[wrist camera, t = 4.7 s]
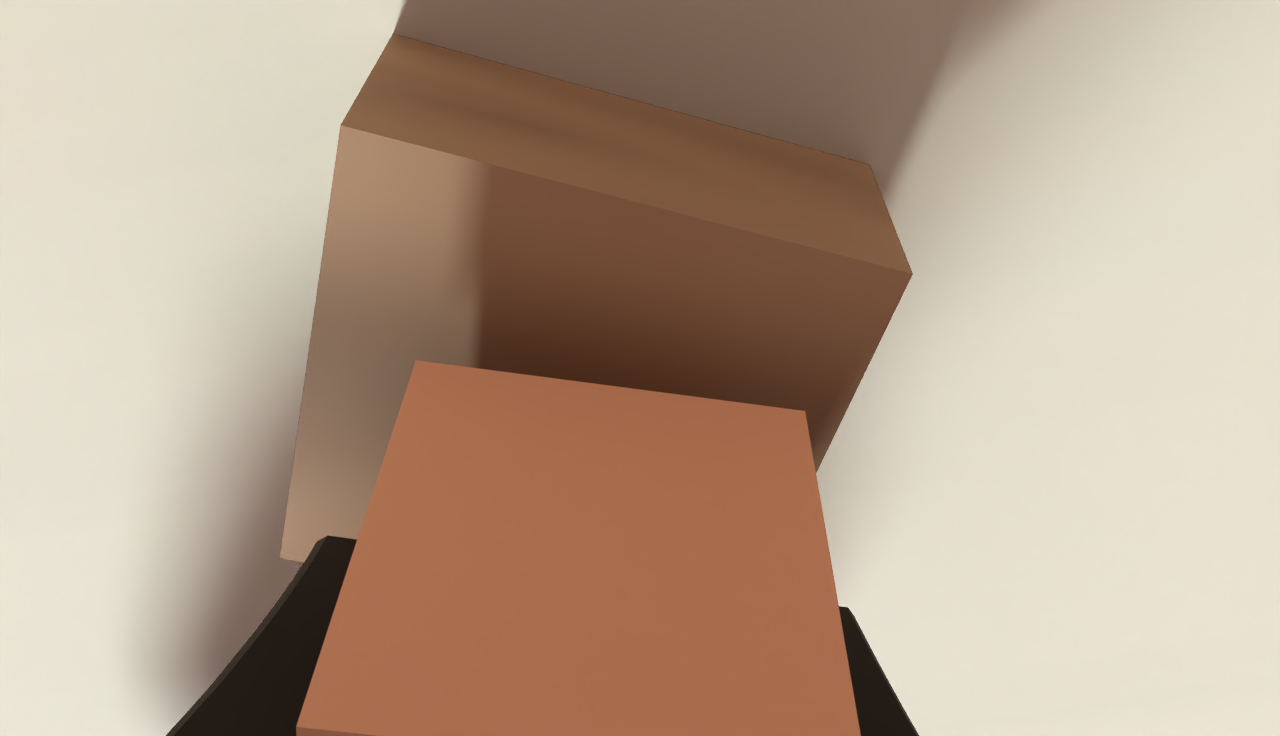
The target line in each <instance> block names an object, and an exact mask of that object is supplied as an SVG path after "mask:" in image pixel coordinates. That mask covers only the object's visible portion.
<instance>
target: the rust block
mask: <svg viewBox="0 0 1280 736" xmlns="http://www.w3.org/2000/svg"><path fill="white" fill-rule="evenodd" d="M296 736H861V734H860V728H859V722H858V717H857V711H856V705H855V699H854V693H853V687H852V682H851V676H850V670H849V664H848V658H847V652H846V647H845V641H844V635H843V629H842V623H841V617H840V611H839V606H838V600H837V594H836V588H835V582H834V576H833V571H832V565H831V559H830V553H829V547H828V541H827V536H826V530H825V524H824V518H823V512H822V506H821V501H820V495H819V489H818V483H817V477H816V471H815V466H814V460H813V454H812V448H811V442H810V436H809V430H808V425H807V419H806V413H805V411H801V410H793V409H785V408H778V407H770V406H762V405H755V404H747V403H739V402H732V401H724V400H716V399H709V398H701V397H694V396H686V395H678V394H671V393H663V392H655V391H648V390H640V389H632V388H625V387H617V386H609V385H602V384H594V383H586V382H579V381H571V380H563V379H556V378H548V377H540V376H533V375H525V374H517V373H510V372H502V371H494V370H487V369H479V368H471V367H464V366H456V365H448V364H441V363H433V362H425V361H418V360H416V361H415V364H414V367H413V370H412V373H411V376H410V379H409V383H408V386H407V389H406V392H405V395H404V398H403V401H402V404H401V407H400V410H399V413H398V416H397V419H396V422H395V425H394V429H393V432H392V435H391V438H390V441H389V444H388V447H387V450H386V453H385V456H384V459H383V462H382V465H381V468H380V471H379V474H378V478H377V481H376V484H375V487H374V490H373V493H372V496H371V499H370V502H369V505H368V508H367V511H366V514H365V517H364V520H363V523H362V527H361V530H360V533H359V536H358V539H357V542H356V545H355V548H354V551H353V554H352V557H351V560H350V563H349V566H348V569H347V572H346V576H345V579H344V582H343V585H342V588H341V591H340V594H339V597H338V600H337V603H336V606H335V609H334V612H333V615H332V618H331V621H330V625H329V628H328V631H327V634H326V637H325V640H324V643H323V646H322V649H321V652H320V655H319V658H318V661H317V664H316V667H315V670H314V674H313V677H312V680H311V683H310V686H309V689H308V692H307V695H306V698H305V701H304V704H303V707H302V710H301V713H300V716H299V719H298V723H297V726H296Z"/></svg>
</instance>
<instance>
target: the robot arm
mask: <svg viewBox="0 0 1280 736" xmlns="http://www.w3.org/2000/svg"><path fill="white" fill-rule="evenodd" d="M356 542H357V539H350V538H343V537H336V536H329V535H327V536H326V537H324V538H322V539H320V540H318V541H317V542H316V543H315V545H314V547H313V549H312V550H311V552H310V554H309V555H308V557H307V559H306V560H305V562H304V563H303V565H302V566H301V568H300V569H299V571H298V573H297V574H296V576H295V577H294V579H293V580H292V582H291V583H290V584H289V586H288V587H287V589H286V590H285V592H284V593H283V594H282V596H281V597H280V599H279V600H278V601H277V603H276V604H275V605H274V607H273V608H272V609H271V611H270V612H269V614H268V615H267V616H266V618H265V619H264V620H263V622H262V623H261V624H260V626H259V627H258V628H257V630H256V631H255V632H254V633H253V635H252V636H251V637H250V638H249V640H248V641H247V642H246V643H245V644H244V646H243V647H242V648H241V649H240V651H239V652H238V653H237V654H236V656H235V657H234V658H233V659H232V660H231V662H230V663H229V664H228V665H227V667H226V668H225V669H224V670H223V672H222V673H221V674H220V675H219V677H218V678H217V679H216V680H215V681H214V683H213V684H212V685H211V686H210V687H209V688H208V690H207V691H206V692H205V693H204V694H203V695H202V696H201V698H200V699H199V700H198V701H197V702H196V703H195V704H194V705H193V706H192V707H191V709H190V710H189V711H188V712H187V713H186V714H185V715H184V716H183V717H182V718H181V720H180V721H179V722H178V723H177V724H176V725H175V726H174V727H173V728H172V729H171V731H170V732H169V733H168V734H167V735H166V736H296V726H297V723H298V719H299V716H300V713H301V710H302V707H303V704H304V701H305V698H306V695H307V692H308V689H309V686H310V683H311V680H312V677H313V674H314V670H315V667H316V664H317V661H318V658H319V655H320V652H321V649H322V646H323V643H324V640H325V637H326V634H327V631H328V628H329V625H330V621H331V618H332V615H333V612H334V609H335V606H336V603H337V600H338V597H339V594H340V591H341V588H342V585H343V582H344V579H345V576H346V572H347V569H348V566H349V563H350V560H351V557H352V554H353V551H354V548H355V545H356ZM839 611H840V617H841V623H842V629H843V635H844V641H845V647H846V652H847V658H848V664H849V670H850V676H851V682H852V687H853V693H854V699H855V705H856V711H857V717H858V722H859V728H860V734H861V736H919V735H918V733H917V731H916V730H915V728H914V726H913V724H912V723H911V721H910V719H909V717H908V716H907V714H906V712H905V710H904V708H903V707H902V705H901V703H900V701H899V699H898V698H897V696H896V694H895V692H894V690H893V689H892V687H891V685H890V683H889V681H888V679H887V678H886V676H885V674H884V672H883V670H882V668H881V666H880V665H879V663H878V661H877V659H876V657H875V655H874V653H873V651H872V649H871V648H870V646H869V644H868V642H867V640H866V638H865V636H864V634H863V632H862V630H861V628H860V627H859V625H858V623H857V621H856V619H855V617H854V615H853V614H852V613H851V611H850V610H849V608H847V607H840V606H839Z"/></svg>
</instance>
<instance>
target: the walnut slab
mask: <svg viewBox="0 0 1280 736" xmlns="http://www.w3.org/2000/svg"><path fill="white" fill-rule="evenodd" d="M912 274H913V273H912V271H911V268H910V266H909V263H908V261H907V258H906V256H905V253H904V251H903V248H902V246H901V243H900V241H899V238H898V235H897V233H896V230H895V228H894V225H893V223H892V220H891V218H890V215H889V213H888V210H887V208H886V205H885V203H884V200H883V197H882V195H881V192H880V190H879V187H878V185H877V182H876V180H875V177H874V175H873V172H872V170H871V167H870V165H868V164H864V163H861V162H857V161H854V160H850V159H846V158H843V157H839V156H835V155H832V154H828V153H824V152H821V151H817V150H814V149H810V148H806V147H803V146H799V145H795V144H792V143H788V142H784V141H781V140H777V139H774V138H770V137H766V136H763V135H759V134H755V133H752V132H748V131H744V130H741V129H737V128H734V127H730V126H726V125H723V124H719V123H715V122H712V121H708V120H704V119H701V118H697V117H694V116H690V115H686V114H683V113H679V112H675V111H672V110H668V109H664V108H661V107H657V106H654V105H650V104H646V103H643V102H639V101H635V100H632V99H628V98H624V97H621V96H617V95H614V94H610V93H606V92H603V91H599V90H595V89H592V88H588V87H584V86H581V85H577V84H573V83H570V82H566V81H563V80H559V79H555V78H552V77H548V76H544V75H541V74H537V73H533V72H530V71H526V70H523V69H519V68H515V67H512V66H508V65H504V64H501V63H497V62H493V61H490V60H486V59H483V58H479V57H475V56H472V55H468V54H464V53H461V52H457V51H453V50H450V49H446V48H443V47H439V46H435V45H432V44H428V43H424V42H421V41H417V40H413V39H410V38H406V37H403V36H399V35H395V34H393V35H392V37H391V38H390V40H389V42H388V44H387V45H386V47H385V49H384V51H383V52H382V54H381V56H380V58H379V59H378V61H377V63H376V65H375V66H374V68H373V70H372V71H371V73H370V75H369V77H368V78H367V80H366V82H365V84H364V85H363V87H362V89H361V91H360V92H359V94H358V96H357V98H356V99H355V101H354V103H353V105H352V106H351V108H350V110H349V112H348V113H347V115H346V117H345V119H344V120H343V122H342V124H341V126H340V133H339V140H338V148H337V155H336V162H335V169H334V176H333V183H332V190H331V197H330V204H329V211H328V218H327V226H326V233H325V240H324V247H323V254H322V261H321V268H320V275H319V282H318V289H317V296H316V304H315V311H314V318H313V325H312V332H311V339H310V346H309V353H308V360H307V367H306V374H305V382H304V389H303V396H302V403H301V410H300V417H299V424H298V431H297V438H296V445H295V452H294V459H293V467H292V474H291V481H290V488H289V495H288V502H287V509H286V516H285V523H284V530H283V537H282V545H281V552H280V558H282V559H287V560H292V561H297V562H302V563H304V562H305V560H306V559H307V557H308V555H309V554H310V552H311V550H312V549H313V547H314V545H315V543H316V542H317V541H318V540H320V539H322V538H324V537H326V536H327V535H329V536H336V537H343V538H350V539H358V536H359V533H360V530H361V527H362V523H363V520H364V517H365V514H366V511H367V508H368V505H369V502H370V499H371V496H372V493H373V490H374V487H375V484H376V481H377V478H378V474H379V471H380V468H381V465H382V462H383V459H384V456H385V453H386V450H387V447H388V444H389V441H390V438H391V435H392V432H393V429H394V425H395V422H396V419H397V416H398V413H399V410H400V407H401V404H402V401H403V398H404V395H405V392H406V389H407V386H408V383H409V379H410V376H411V373H412V370H413V367H414V364H415V361H416V360H418V361H425V362H433V363H441V364H448V365H456V366H464V367H471V368H479V369H487V370H494V371H502V372H510V373H517V374H525V375H533V376H540V377H548V378H556V379H563V380H571V381H579V382H586V383H594V384H602V385H609V386H617V387H625V388H632V389H640V390H648V391H655V392H663V393H671V394H678V395H686V396H694V397H701V398H709V399H716V400H724V401H732V402H739V403H747V404H755V405H762V406H770V407H778V408H785V409H793V410H801V411H805V413H806V419H807V425H808V430H809V436H810V442H811V448H812V454H813V460H814V466H815V471H816V472H817V470H818V468H819V466H820V464H821V462H822V460H823V458H824V456H825V454H826V452H827V449H828V447H829V445H830V443H831V441H832V439H833V437H834V435H835V433H836V431H837V429H838V427H839V425H840V423H841V421H842V419H843V416H844V414H845V412H846V410H847V408H848V406H849V404H850V402H851V400H852V398H853V396H854V394H855V392H856V390H857V388H858V386H859V383H860V381H861V379H862V377H863V375H864V373H865V371H866V369H867V367H868V365H869V363H870V361H871V359H872V357H873V355H874V353H875V350H876V348H877V346H878V344H879V342H880V340H881V338H882V336H883V334H884V332H885V330H886V328H887V326H888V324H889V322H890V320H891V317H892V315H893V313H894V311H895V309H896V307H897V305H898V303H899V301H900V299H901V297H902V295H903V293H904V291H905V289H906V287H907V284H908V282H909V280H910V278H911V276H912Z"/></svg>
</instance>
